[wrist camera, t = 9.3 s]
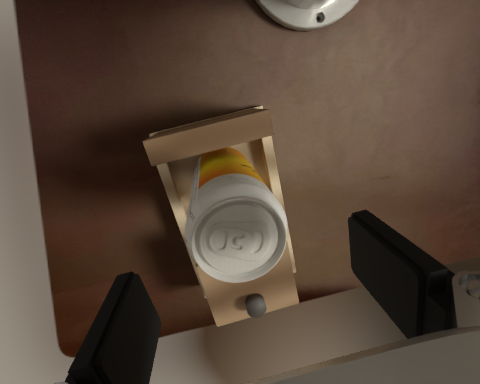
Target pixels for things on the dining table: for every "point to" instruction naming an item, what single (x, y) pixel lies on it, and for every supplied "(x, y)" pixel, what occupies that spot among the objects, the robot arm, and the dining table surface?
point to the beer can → (233, 219)
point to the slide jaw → (251, 293)
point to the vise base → (186, 172)
